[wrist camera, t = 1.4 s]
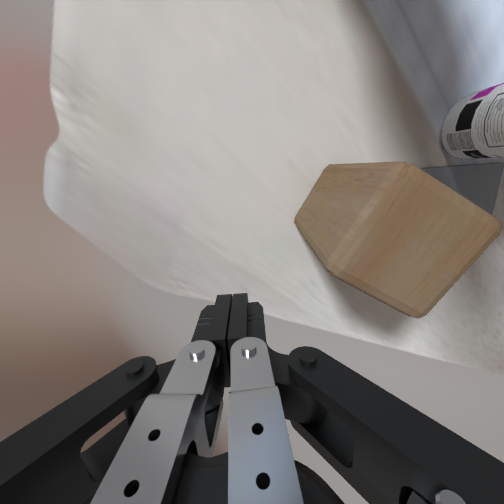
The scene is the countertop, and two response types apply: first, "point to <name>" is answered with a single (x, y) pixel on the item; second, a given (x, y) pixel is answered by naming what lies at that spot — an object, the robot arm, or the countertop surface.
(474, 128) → the supplement can
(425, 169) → the mat
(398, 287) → the wooden block
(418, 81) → the countertop surface
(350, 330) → the countertop surface
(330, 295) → the countertop surface
